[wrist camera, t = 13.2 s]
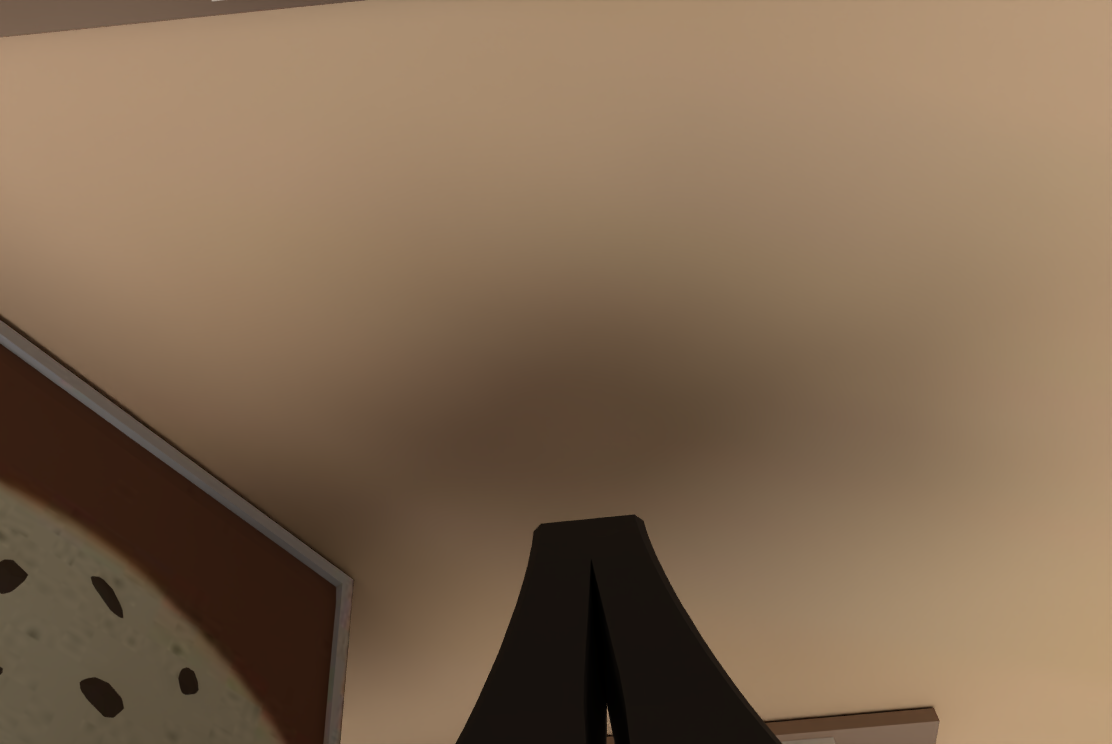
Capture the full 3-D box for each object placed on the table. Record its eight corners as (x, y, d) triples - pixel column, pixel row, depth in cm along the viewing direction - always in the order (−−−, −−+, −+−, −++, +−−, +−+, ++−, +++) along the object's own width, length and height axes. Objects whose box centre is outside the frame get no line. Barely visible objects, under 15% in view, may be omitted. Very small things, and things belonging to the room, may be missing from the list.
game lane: (923, 773, 21) (931, 795, 20) (-51, 858, 21) (-63, 882, 21) (1096, -276, 11) (1118, -275, 11) (-710, -86, 11) (-757, -78, 11)
